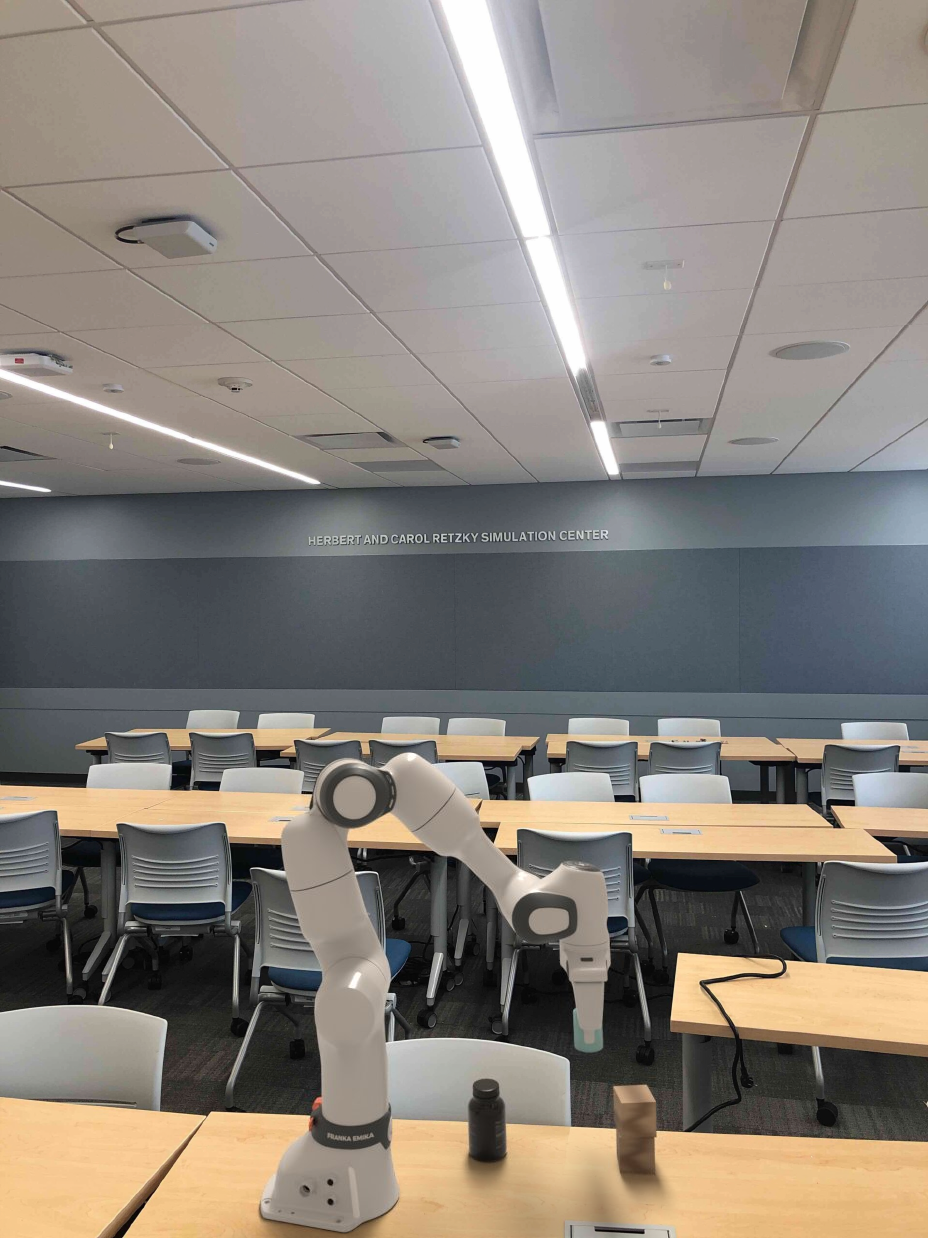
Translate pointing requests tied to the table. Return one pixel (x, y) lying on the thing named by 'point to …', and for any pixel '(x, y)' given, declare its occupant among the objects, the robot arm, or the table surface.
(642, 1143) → the tower base
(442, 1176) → the table surface
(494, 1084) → the supplement bottle
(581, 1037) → the teal rounded cylinder
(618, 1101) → the tower top
